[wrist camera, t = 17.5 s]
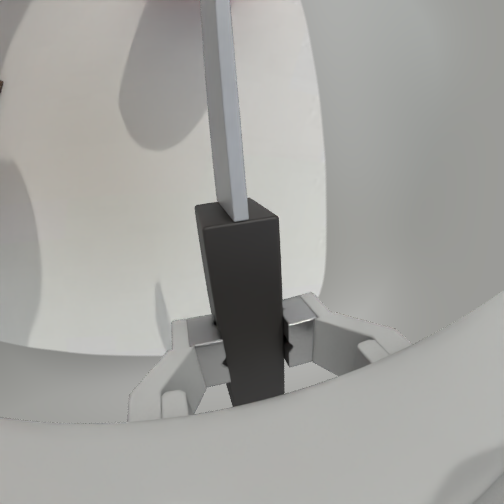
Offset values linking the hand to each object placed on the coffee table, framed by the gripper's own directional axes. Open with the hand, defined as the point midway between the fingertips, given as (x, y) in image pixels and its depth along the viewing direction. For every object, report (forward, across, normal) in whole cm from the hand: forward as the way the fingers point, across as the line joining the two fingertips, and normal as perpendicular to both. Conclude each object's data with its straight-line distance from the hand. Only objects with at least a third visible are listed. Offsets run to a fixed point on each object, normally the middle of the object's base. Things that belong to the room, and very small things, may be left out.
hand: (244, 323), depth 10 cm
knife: (+2, 0, -4) cm, 5 cm away
